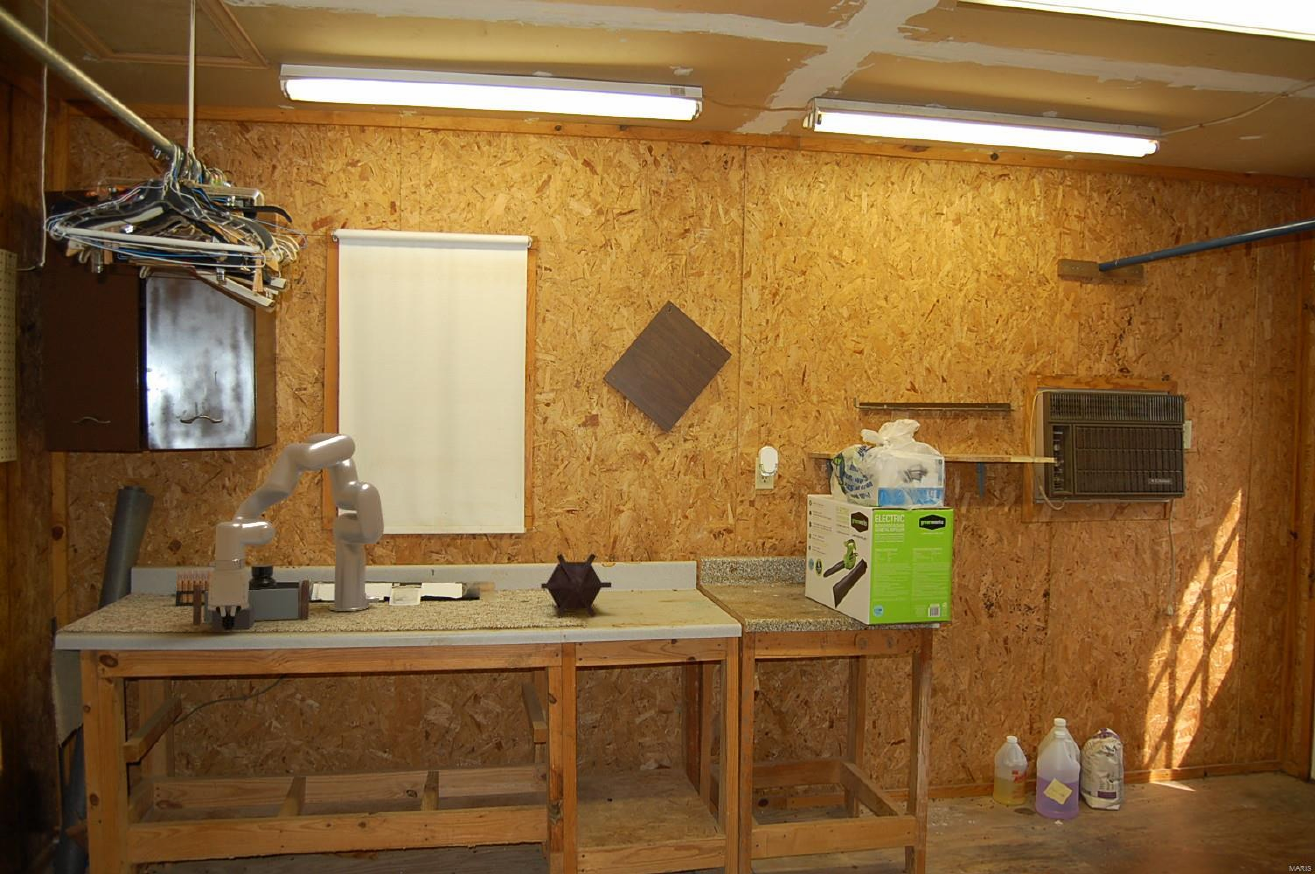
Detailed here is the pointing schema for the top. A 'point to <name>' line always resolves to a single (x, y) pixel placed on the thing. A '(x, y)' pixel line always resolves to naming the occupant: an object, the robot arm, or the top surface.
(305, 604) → the door frame
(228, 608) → the doorstop block
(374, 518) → the robot arm
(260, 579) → the ink bottle
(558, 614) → the black spiked polyhedron
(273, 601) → the door
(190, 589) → the ammunition clip
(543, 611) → the top surface
